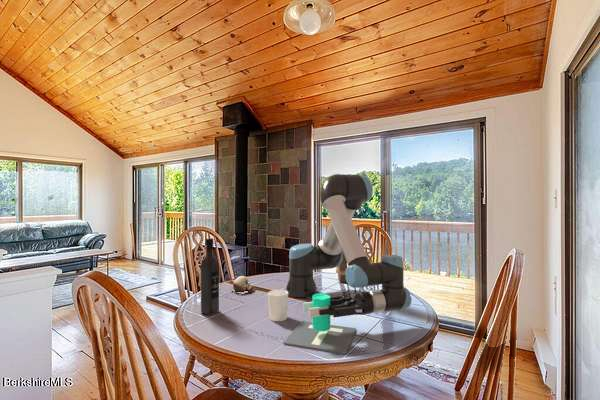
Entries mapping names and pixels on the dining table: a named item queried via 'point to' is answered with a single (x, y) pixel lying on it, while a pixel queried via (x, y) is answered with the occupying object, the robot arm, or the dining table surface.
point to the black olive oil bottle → (209, 281)
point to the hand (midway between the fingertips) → (306, 309)
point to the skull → (242, 285)
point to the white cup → (278, 305)
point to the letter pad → (321, 338)
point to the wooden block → (342, 270)
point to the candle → (321, 321)
